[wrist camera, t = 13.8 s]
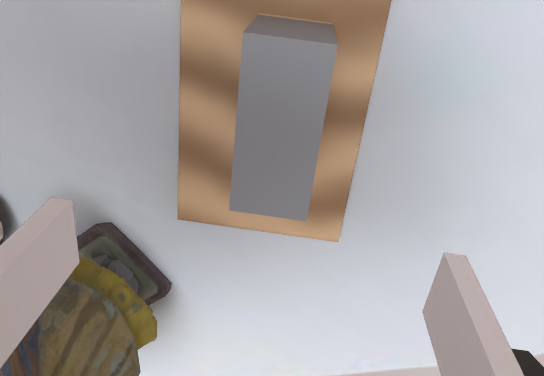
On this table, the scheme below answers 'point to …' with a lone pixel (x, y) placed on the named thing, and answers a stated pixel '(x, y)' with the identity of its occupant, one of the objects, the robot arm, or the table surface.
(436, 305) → the robot arm
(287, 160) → the block
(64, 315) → the statue
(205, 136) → the oak board
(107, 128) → the table surface
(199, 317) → the table surface
